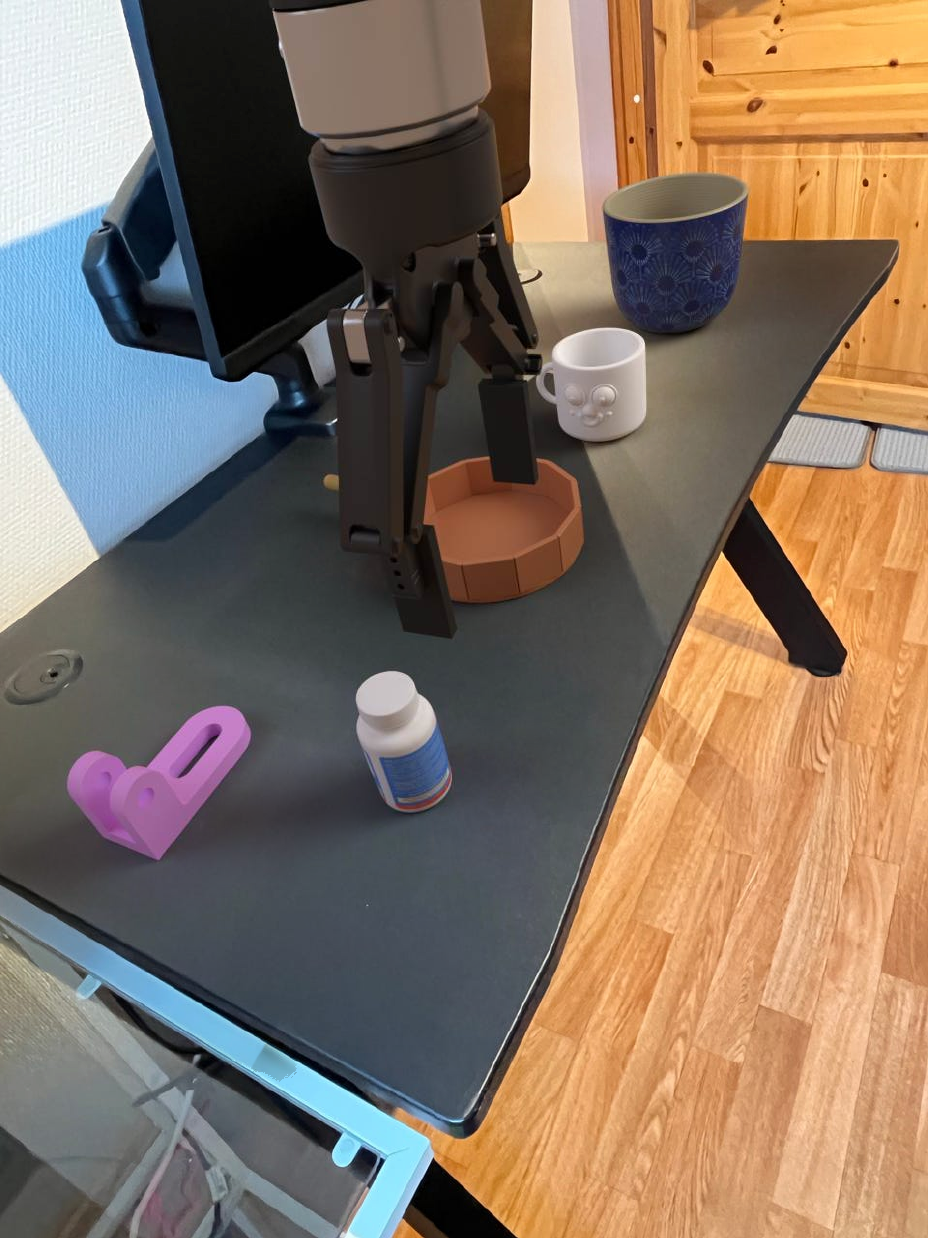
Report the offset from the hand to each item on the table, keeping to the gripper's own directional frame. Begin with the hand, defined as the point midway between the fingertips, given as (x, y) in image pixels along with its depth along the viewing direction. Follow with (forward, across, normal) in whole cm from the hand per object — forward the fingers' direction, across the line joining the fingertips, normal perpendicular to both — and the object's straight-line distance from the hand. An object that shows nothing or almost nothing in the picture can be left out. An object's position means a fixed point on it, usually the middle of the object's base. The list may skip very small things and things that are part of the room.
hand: (477, 548), depth 47 cm
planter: (+21, -74, -4) cm, 77 cm away
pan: (+20, -26, -16) cm, 37 cm away
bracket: (+21, +7, -25) cm, 33 cm away
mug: (+21, -47, -7) cm, 52 cm away
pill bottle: (+20, +3, -7) cm, 22 cm away
